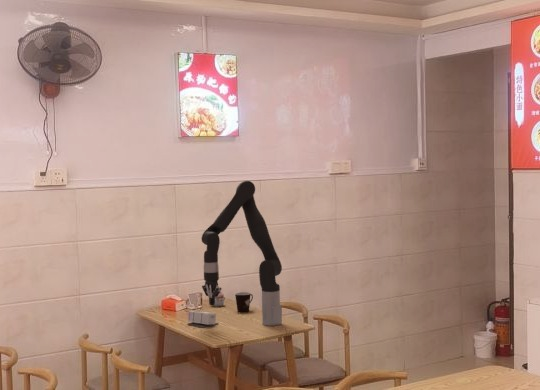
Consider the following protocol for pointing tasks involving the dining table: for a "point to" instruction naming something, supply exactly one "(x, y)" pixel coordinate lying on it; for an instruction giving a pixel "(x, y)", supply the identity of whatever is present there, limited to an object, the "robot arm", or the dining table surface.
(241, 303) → the coffee mug
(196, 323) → the mat
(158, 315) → the dining table surface
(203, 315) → the syrup box
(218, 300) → the cupcake
